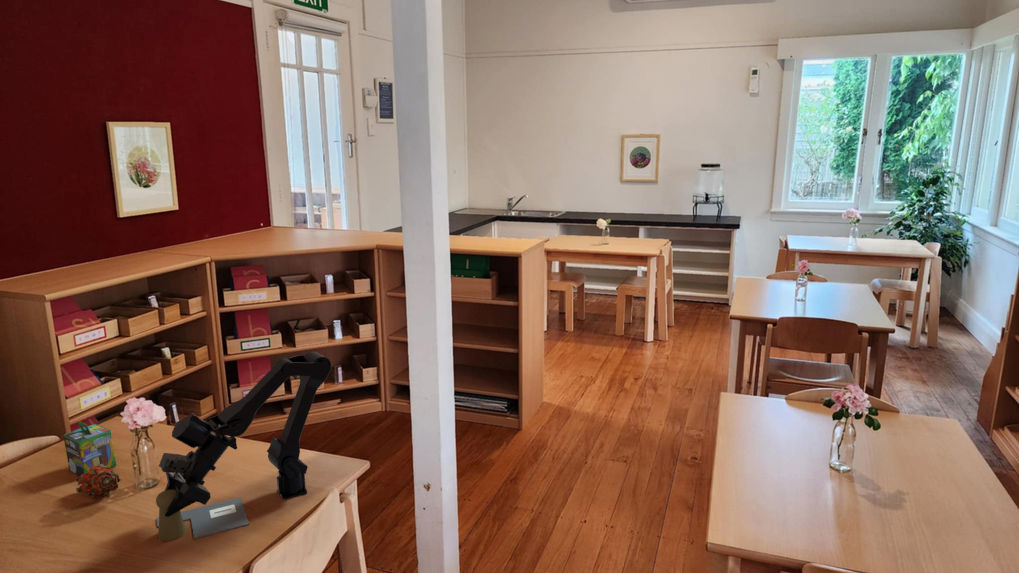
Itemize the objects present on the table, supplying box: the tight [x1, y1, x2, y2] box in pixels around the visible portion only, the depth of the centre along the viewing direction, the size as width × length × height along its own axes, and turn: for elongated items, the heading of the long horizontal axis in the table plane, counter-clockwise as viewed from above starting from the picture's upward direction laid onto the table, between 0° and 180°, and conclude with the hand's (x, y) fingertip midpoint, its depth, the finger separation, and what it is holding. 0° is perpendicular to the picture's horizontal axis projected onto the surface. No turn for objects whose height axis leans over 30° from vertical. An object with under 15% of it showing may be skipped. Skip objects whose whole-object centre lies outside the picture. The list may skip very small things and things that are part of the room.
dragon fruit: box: [75, 465, 122, 498], centre depth 181 cm, size 8×8×12 cm
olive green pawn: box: [155, 489, 187, 542], centre depth 163 cm, size 6×6×11 cm
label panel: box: [156, 497, 250, 540], centre depth 169 cm, size 20×14×1 cm
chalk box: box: [62, 420, 117, 477], centre depth 193 cm, size 9×9×15 cm
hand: (163, 511), depth 162 cm, fingers closed on olive green pawn, 5 cm apart
